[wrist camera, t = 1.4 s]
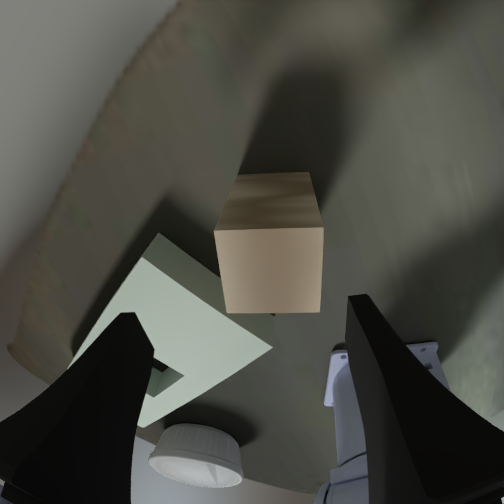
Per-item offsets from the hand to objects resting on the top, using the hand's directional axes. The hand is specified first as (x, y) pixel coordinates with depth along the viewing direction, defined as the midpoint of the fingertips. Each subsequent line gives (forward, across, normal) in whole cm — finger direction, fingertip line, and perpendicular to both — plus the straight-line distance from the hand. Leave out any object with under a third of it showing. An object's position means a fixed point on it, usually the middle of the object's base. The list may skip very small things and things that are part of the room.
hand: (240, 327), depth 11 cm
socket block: (+9, +11, +12) cm, 18 cm away
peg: (+10, -1, 0) cm, 10 cm away
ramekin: (+8, +11, +30) cm, 33 cm away
